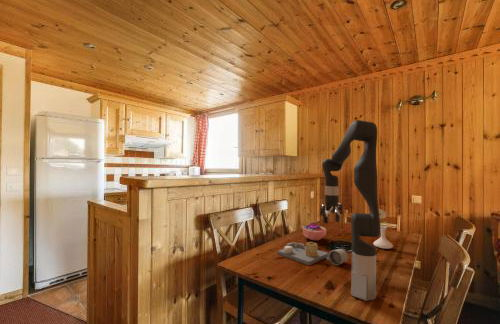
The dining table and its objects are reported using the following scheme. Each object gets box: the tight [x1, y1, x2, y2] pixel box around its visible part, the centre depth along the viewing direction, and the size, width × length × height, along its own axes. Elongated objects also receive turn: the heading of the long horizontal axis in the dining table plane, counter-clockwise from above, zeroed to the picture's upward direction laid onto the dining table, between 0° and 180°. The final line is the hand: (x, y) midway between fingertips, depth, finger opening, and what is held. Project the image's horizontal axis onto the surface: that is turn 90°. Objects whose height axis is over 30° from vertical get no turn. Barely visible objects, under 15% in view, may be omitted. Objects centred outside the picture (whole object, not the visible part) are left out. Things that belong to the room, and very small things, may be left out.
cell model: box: [302, 222, 327, 241], centre depth 177 cm, size 17×20×11 cm
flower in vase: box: [372, 208, 394, 250], centre depth 162 cm, size 13×11×25 cm
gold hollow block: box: [305, 241, 318, 257], centre depth 140 cm, size 7×7×6 cm
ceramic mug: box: [326, 248, 349, 266], centre depth 134 cm, size 11×8×8 cm
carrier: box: [277, 242, 330, 266], centre depth 144 cm, size 20×22×6 cm
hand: (331, 222), depth 138 cm, fingers open, 8 cm apart
